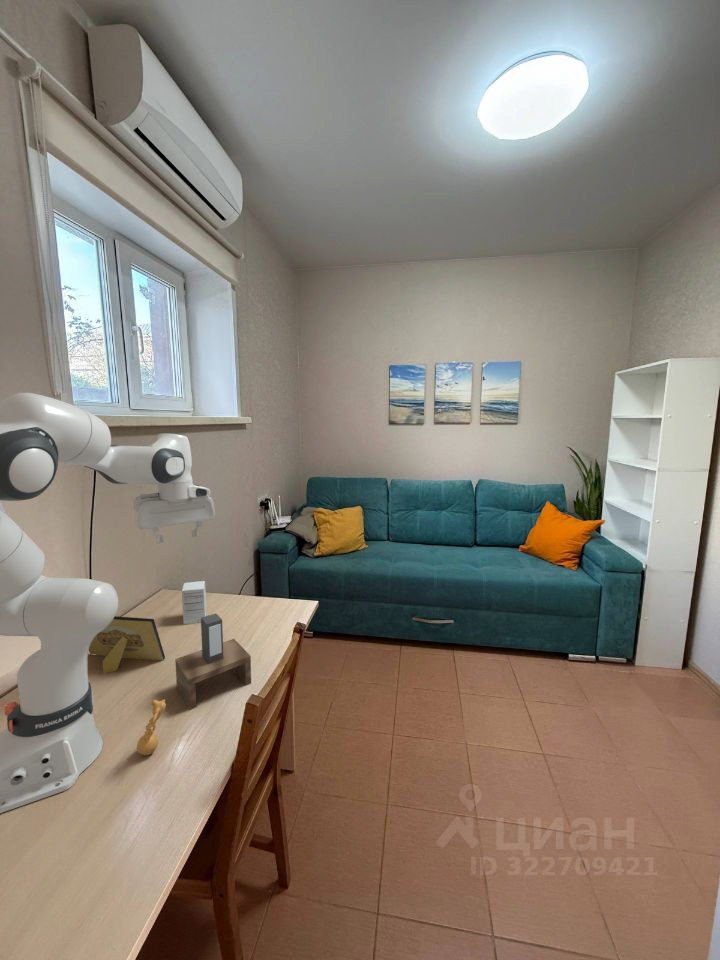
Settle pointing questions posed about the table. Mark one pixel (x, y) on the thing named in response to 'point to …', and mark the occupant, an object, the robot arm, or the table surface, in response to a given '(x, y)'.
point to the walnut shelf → (210, 669)
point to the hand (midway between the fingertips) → (178, 539)
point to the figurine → (151, 730)
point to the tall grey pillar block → (212, 638)
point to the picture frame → (127, 641)
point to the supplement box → (193, 602)
